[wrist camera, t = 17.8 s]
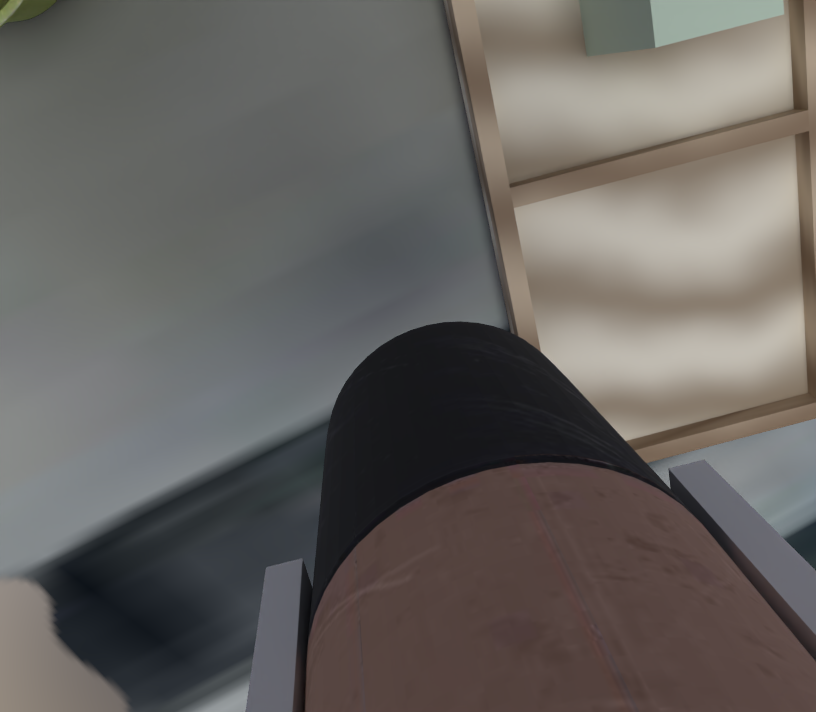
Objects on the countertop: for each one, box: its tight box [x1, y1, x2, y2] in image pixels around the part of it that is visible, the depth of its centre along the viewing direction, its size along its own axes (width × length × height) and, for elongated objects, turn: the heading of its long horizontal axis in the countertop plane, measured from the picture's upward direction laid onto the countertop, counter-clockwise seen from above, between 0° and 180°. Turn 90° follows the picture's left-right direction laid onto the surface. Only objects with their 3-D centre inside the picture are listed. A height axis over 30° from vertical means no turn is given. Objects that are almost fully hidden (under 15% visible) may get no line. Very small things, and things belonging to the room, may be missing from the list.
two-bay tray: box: [443, 0, 816, 463], centre depth 37 cm, size 33×17×2 cm, turn 14°
